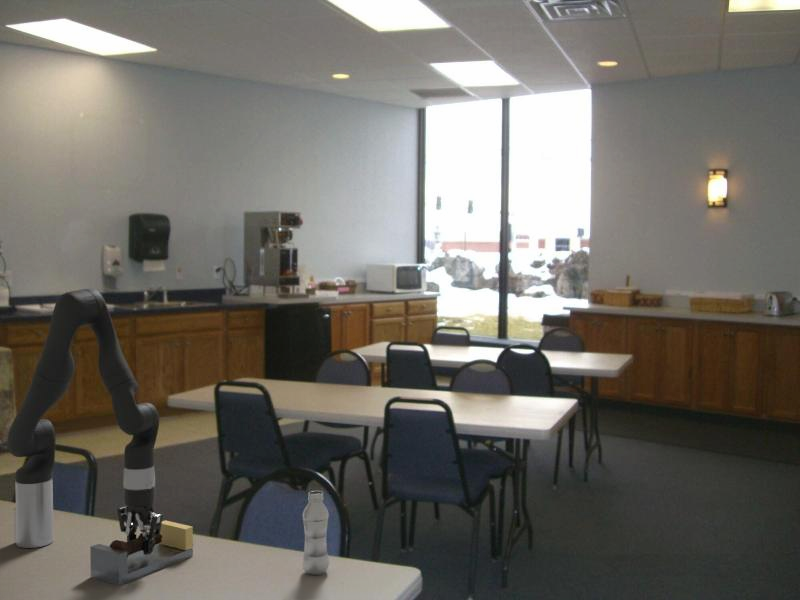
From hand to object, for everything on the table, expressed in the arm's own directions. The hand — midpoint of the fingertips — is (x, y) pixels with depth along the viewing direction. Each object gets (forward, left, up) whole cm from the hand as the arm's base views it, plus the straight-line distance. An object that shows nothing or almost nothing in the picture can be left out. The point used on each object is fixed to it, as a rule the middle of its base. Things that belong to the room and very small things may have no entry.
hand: (140, 551), depth 218 cm
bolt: (0, -1, -1) cm, 1 cm away
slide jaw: (0, +12, -2) cm, 12 cm away
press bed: (0, +1, -4) cm, 4 cm away
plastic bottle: (+39, +21, -4) cm, 44 cm away
